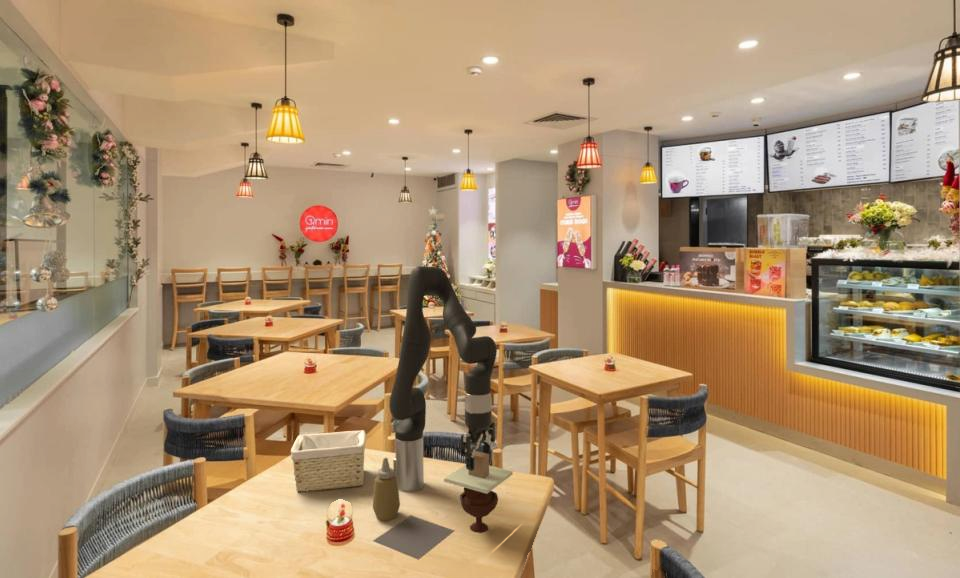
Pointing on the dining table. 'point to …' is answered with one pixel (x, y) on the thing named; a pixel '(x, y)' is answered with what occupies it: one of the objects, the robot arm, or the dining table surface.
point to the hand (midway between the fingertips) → (478, 464)
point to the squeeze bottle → (386, 493)
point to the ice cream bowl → (478, 506)
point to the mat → (414, 536)
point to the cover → (479, 475)
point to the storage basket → (329, 460)
